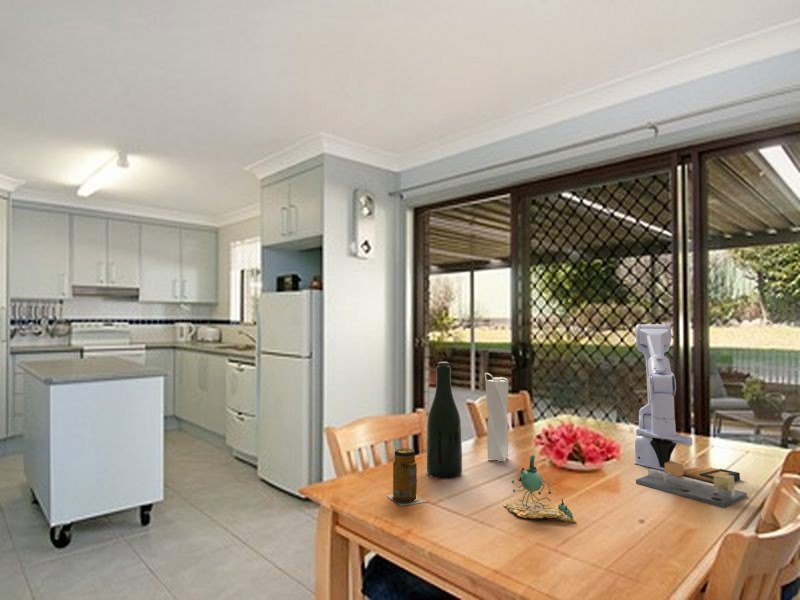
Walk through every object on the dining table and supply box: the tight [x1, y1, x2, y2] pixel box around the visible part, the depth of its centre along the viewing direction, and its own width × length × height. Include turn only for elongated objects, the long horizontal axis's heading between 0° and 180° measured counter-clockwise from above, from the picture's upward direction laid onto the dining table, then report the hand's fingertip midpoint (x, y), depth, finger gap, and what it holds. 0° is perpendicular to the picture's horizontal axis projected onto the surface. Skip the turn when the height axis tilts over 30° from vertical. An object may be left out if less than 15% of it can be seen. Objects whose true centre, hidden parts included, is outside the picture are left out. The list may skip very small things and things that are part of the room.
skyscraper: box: [484, 372, 509, 462], centre depth 161 cm, size 8×8×28 cm
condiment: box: [385, 447, 427, 507], centre depth 125 cm, size 7×8×12 cm
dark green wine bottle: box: [426, 361, 463, 479], centre depth 146 cm, size 10×10×33 cm
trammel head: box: [663, 460, 685, 482], centre depth 133 cm, size 3×7×4 cm, turn 125°
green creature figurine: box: [502, 454, 577, 523], centre depth 115 cm, size 10×18×15 cm, turn 43°
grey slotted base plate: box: [635, 468, 748, 508], centre depth 131 cm, size 22×13×6 cm, turn 35°
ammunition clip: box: [683, 465, 741, 484], centre depth 141 cm, size 11×2×12 cm
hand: (664, 466), depth 136 cm, fingers closed
